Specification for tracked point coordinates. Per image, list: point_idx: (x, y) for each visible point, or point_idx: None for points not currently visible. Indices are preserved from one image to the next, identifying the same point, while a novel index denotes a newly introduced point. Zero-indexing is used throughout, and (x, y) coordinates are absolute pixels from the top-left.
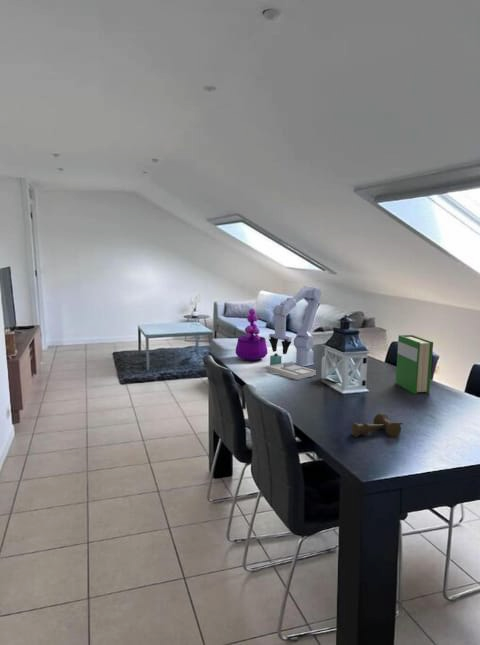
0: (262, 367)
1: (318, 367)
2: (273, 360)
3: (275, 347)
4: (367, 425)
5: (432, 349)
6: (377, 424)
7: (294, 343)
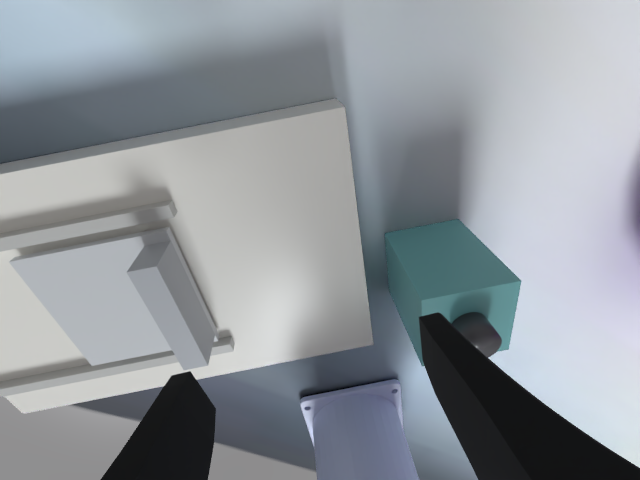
0: (469, 126)
1: (250, 451)
2: (438, 264)
3: (456, 414)
4: None
5: None
6: None
7: None
